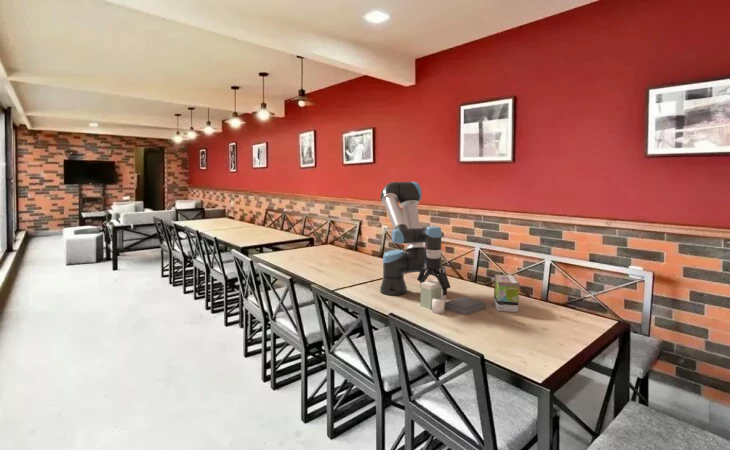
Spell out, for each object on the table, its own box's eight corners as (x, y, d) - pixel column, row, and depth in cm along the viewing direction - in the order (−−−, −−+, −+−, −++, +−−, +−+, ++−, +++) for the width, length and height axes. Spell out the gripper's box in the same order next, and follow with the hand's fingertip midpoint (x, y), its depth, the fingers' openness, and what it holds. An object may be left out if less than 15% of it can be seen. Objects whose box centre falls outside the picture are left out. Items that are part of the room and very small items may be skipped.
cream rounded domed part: (429, 311, 194) (429, 299, 193) (437, 308, 197) (437, 297, 197) (438, 314, 189) (438, 302, 188) (447, 311, 193) (447, 300, 192)
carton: (420, 305, 202) (420, 282, 200) (435, 301, 209) (435, 279, 207) (430, 309, 196) (430, 286, 195) (445, 304, 203) (445, 281, 201)
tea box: (518, 312, 191) (520, 282, 189) (496, 311, 193) (497, 281, 191) (513, 302, 205) (514, 274, 203) (493, 301, 207) (494, 273, 205)
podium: (444, 307, 198) (444, 302, 198) (464, 301, 208) (464, 295, 207) (465, 315, 188) (465, 309, 188) (485, 307, 198) (485, 301, 197)
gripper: (410, 254, 206) (410, 293, 209) (447, 262, 187) (447, 305, 190) (420, 252, 211) (420, 290, 214) (458, 260, 192) (457, 302, 195)
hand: (433, 297), depth 202 cm, fingers open, 13 cm apart
